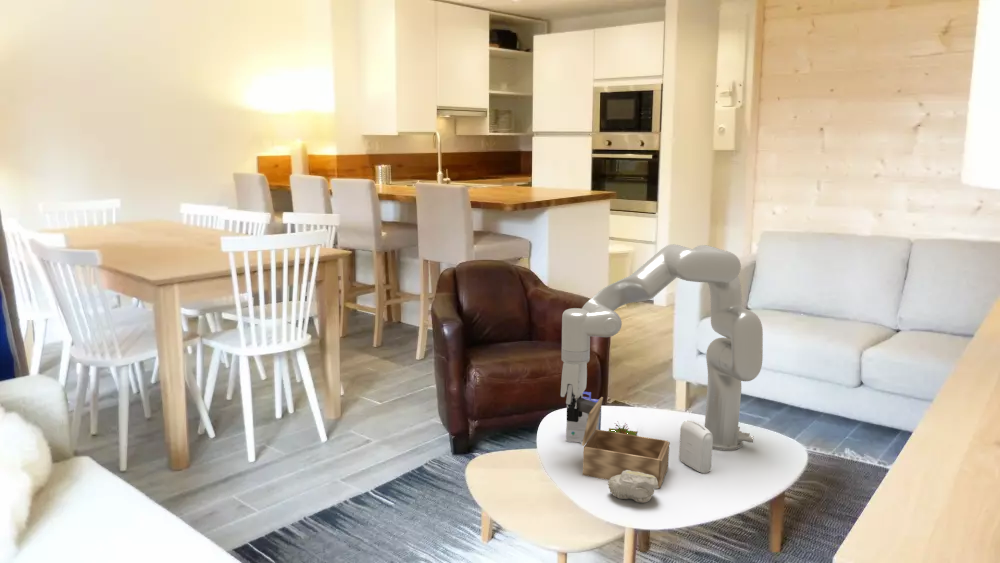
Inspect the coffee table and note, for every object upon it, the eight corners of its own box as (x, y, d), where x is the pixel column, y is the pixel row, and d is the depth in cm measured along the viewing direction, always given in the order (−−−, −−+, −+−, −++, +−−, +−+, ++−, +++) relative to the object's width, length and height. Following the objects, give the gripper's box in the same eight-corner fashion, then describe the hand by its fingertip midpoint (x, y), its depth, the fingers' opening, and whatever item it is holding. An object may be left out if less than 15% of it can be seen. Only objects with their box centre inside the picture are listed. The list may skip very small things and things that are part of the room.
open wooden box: (668, 468, 206) (669, 441, 204) (659, 489, 194) (661, 460, 192) (594, 455, 213) (595, 429, 212) (582, 475, 201) (583, 447, 200)
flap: (583, 446, 200) (557, 436, 202) (596, 428, 211) (570, 419, 214) (591, 413, 197) (564, 404, 200) (603, 397, 209) (577, 389, 211)
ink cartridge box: (600, 437, 226) (602, 391, 223) (599, 445, 220) (601, 398, 217) (567, 434, 228) (569, 389, 225) (565, 441, 222) (567, 395, 219)
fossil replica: (606, 489, 194) (613, 512, 185) (605, 461, 192) (612, 482, 182) (652, 485, 194) (661, 508, 185) (652, 457, 192) (661, 478, 182)
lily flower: (638, 448, 220) (639, 433, 219) (597, 442, 223) (598, 428, 222) (643, 432, 231) (644, 418, 230) (604, 427, 234) (605, 413, 233)
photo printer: (676, 459, 211) (678, 418, 209) (688, 456, 213) (691, 415, 210) (700, 475, 202) (703, 432, 200) (713, 472, 204) (716, 429, 201)
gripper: (570, 344, 211) (569, 406, 215) (553, 362, 196) (552, 428, 200) (596, 347, 208) (595, 409, 212) (581, 365, 194) (579, 432, 197)
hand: (574, 418), depth 206 cm, fingers closed on flap, 3 cm apart
